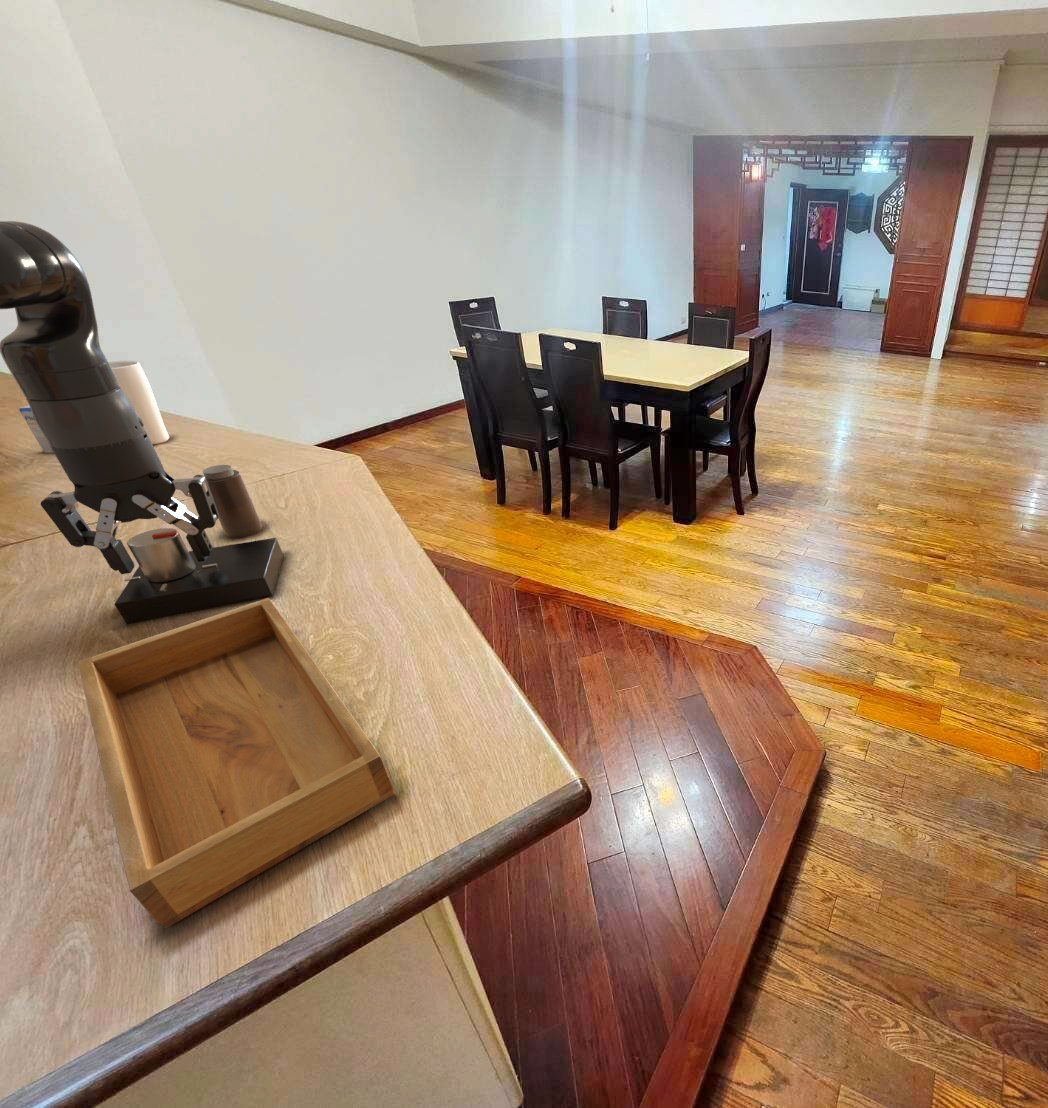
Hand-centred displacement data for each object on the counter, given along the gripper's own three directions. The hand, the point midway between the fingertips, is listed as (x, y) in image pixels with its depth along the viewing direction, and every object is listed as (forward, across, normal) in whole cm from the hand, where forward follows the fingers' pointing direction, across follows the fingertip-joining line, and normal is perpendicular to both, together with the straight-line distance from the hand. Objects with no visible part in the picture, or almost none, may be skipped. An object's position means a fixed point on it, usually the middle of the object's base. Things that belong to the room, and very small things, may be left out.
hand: (167, 564), depth 72 cm
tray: (+5, +11, -32) cm, 34 cm away
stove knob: (+1, 0, 0) cm, 1 cm away
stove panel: (+4, +3, 0) cm, 5 cm away
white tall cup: (+4, -18, +66) cm, 69 cm away
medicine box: (+4, -30, +68) cm, 74 cm away
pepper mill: (+4, +4, +16) cm, 17 cm away
